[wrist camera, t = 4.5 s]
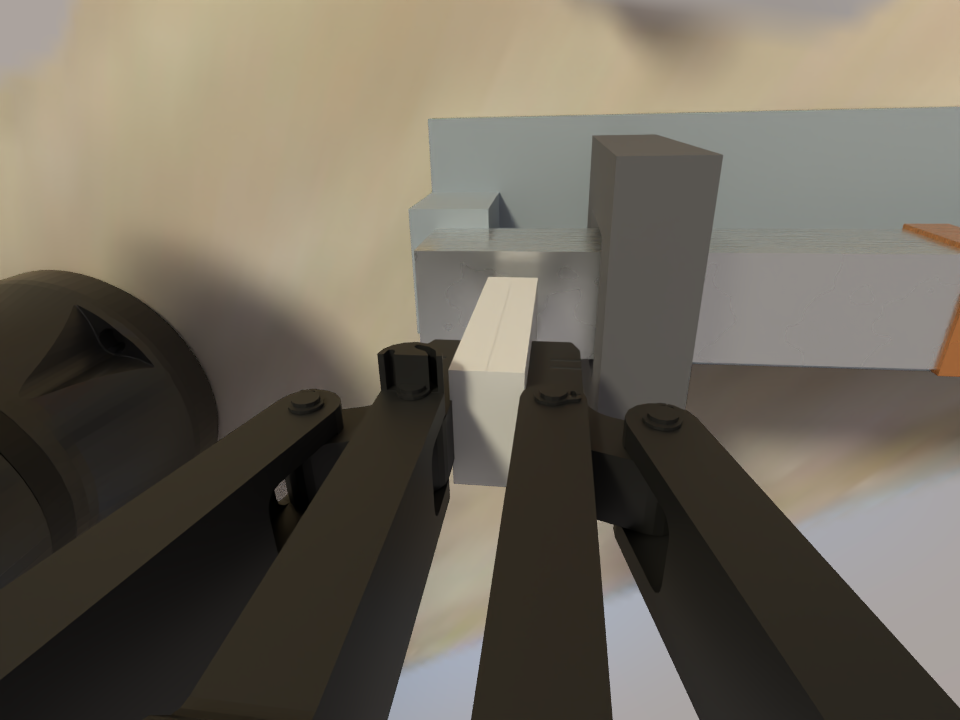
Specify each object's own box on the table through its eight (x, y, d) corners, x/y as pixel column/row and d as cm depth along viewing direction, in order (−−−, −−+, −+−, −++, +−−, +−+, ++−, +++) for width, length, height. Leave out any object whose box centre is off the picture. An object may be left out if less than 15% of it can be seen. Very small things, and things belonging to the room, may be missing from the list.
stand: (444, 349, 29) (422, 397, 24) (431, 118, 24) (402, 121, 20) (999, 365, 26) (1098, 424, 21) (1104, 103, 21) (1262, 103, 16)
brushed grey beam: (441, 320, 23) (420, 359, 19) (436, 223, 21) (412, 247, 18) (1106, 334, 20) (1226, 385, 16) (1159, 223, 18) (1305, 252, 15)
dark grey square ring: (579, 358, 26) (591, 488, 17) (592, 135, 22) (616, 156, 13) (632, 360, 25) (672, 493, 17) (655, 134, 21) (722, 154, 13)
